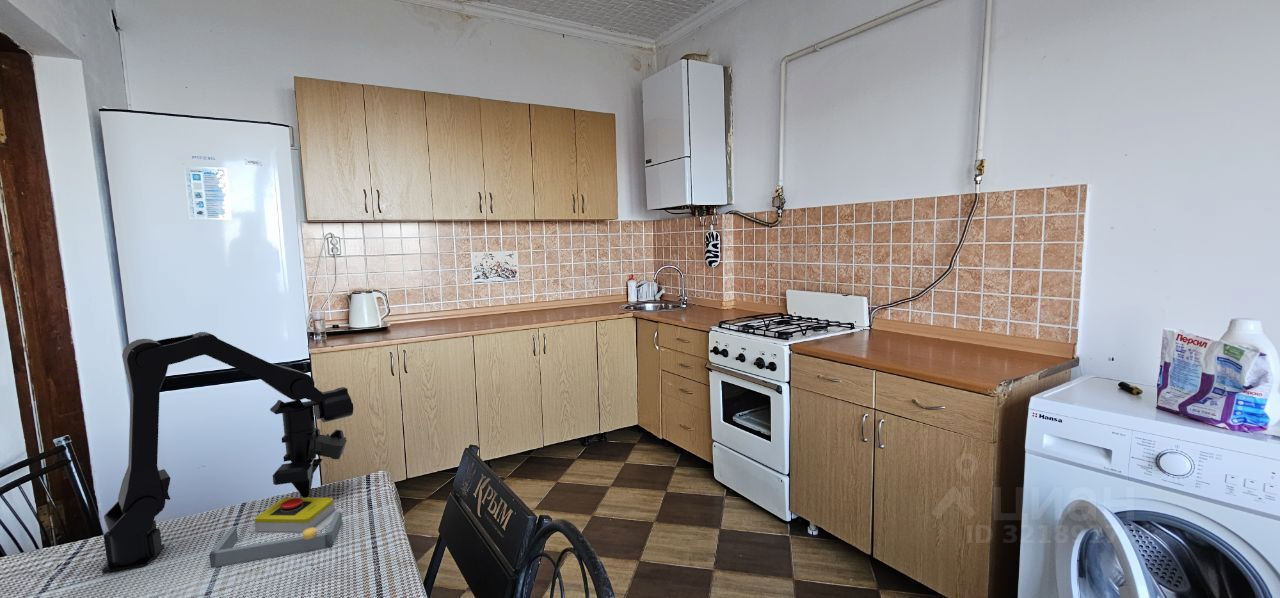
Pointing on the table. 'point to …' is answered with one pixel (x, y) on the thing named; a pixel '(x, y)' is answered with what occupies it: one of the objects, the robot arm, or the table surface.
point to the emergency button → (296, 515)
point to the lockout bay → (273, 545)
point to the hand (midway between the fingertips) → (306, 496)
